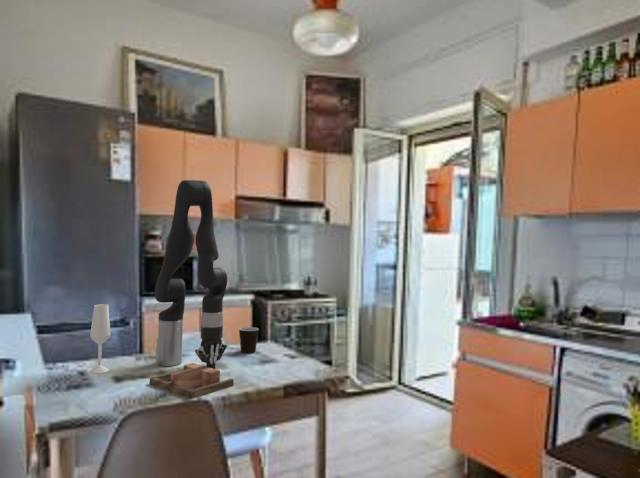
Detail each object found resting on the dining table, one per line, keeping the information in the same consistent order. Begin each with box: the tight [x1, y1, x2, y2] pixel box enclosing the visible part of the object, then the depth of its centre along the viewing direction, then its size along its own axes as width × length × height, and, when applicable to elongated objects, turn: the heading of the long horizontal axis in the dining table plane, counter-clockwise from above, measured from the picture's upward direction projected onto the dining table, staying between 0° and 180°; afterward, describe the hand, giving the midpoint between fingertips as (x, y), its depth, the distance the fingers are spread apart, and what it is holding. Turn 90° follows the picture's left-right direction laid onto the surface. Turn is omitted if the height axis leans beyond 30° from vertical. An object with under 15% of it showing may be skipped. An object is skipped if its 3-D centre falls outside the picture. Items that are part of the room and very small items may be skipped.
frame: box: [149, 369, 234, 399], centre depth 156 cm, size 22×18×2 cm
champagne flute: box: [88, 303, 111, 374], centre depth 170 cm, size 7×7×24 cm
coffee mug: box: [238, 326, 259, 354], centre depth 206 cm, size 12×9×10 cm
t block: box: [170, 362, 221, 389], centre depth 156 cm, size 14×13×5 cm
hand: (210, 373), depth 163 cm, fingers closed
